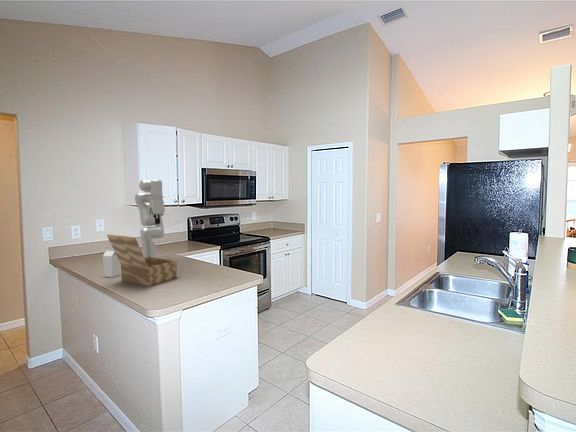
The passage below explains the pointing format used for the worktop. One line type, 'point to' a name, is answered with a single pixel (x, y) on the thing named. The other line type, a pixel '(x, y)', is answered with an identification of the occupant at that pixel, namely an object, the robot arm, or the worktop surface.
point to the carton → (150, 272)
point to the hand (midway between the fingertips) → (157, 223)
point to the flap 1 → (120, 249)
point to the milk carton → (110, 263)
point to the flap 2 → (134, 251)
